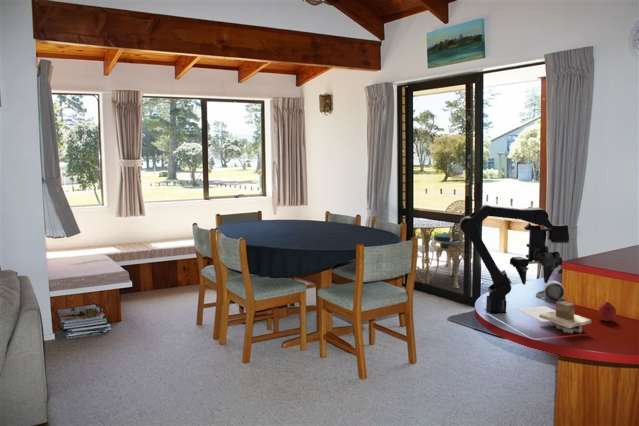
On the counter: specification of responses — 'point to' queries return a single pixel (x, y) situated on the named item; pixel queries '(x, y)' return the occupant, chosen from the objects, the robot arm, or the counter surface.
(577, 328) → the grey jagged ring sculpture
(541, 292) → the ceramic mug
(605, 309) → the onion
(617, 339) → the counter surface
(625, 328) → the counter surface
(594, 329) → the counter surface
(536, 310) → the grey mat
